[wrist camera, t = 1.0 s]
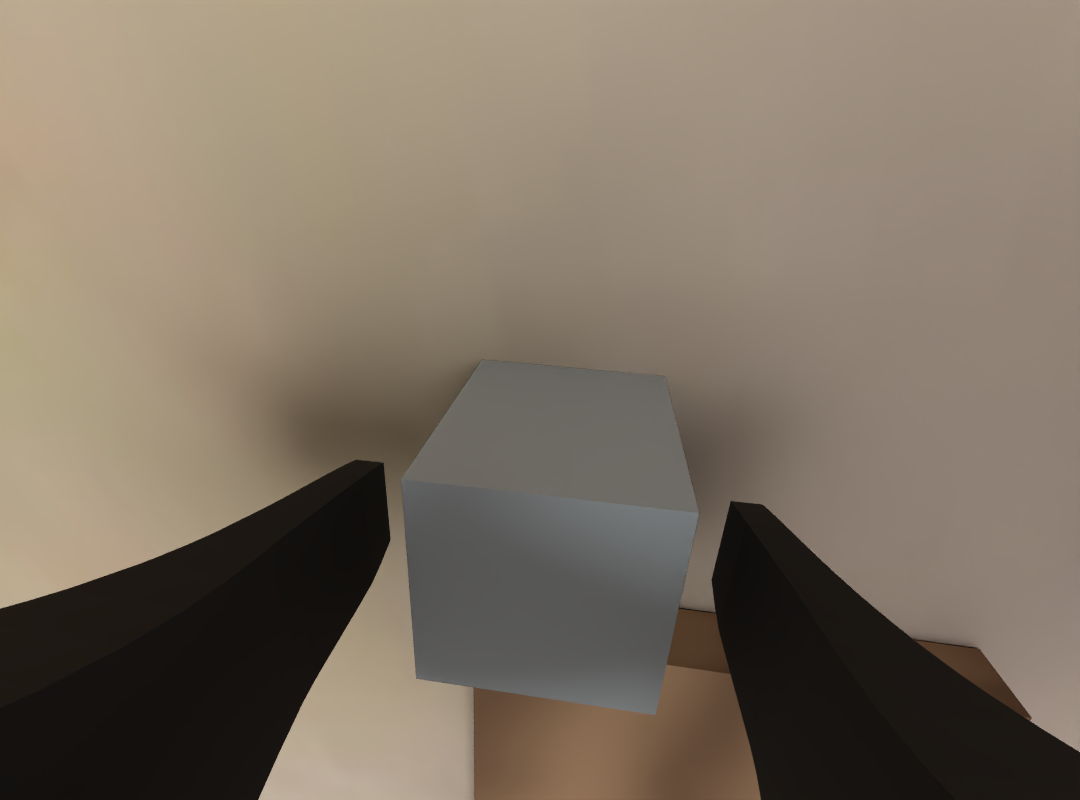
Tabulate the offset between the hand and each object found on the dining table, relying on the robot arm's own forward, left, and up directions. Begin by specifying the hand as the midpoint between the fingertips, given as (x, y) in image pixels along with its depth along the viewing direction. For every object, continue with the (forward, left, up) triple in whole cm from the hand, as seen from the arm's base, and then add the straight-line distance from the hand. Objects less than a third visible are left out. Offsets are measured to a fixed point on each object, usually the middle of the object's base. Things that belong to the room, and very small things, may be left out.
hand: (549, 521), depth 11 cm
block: (0, 0, -3) cm, 3 cm away
